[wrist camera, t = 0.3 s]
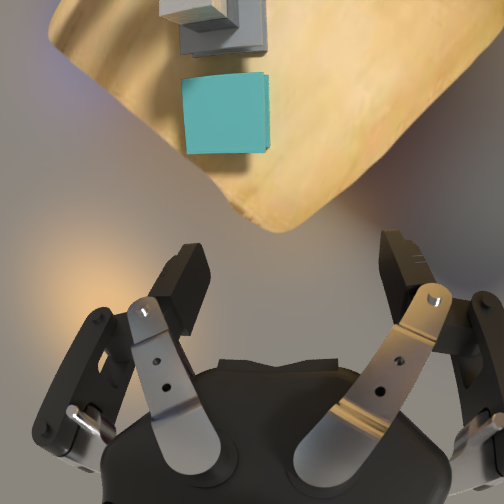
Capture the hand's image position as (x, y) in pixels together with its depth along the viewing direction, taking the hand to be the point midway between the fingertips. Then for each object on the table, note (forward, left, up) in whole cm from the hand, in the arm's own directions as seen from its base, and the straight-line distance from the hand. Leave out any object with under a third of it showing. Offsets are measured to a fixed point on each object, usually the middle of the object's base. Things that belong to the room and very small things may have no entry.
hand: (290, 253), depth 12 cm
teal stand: (-5, -10, -28) cm, 30 cm away
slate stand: (-18, -10, -28) cm, 35 cm away
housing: (-18, -10, -23) cm, 31 cm away
